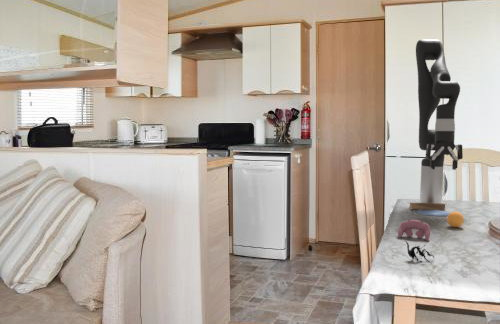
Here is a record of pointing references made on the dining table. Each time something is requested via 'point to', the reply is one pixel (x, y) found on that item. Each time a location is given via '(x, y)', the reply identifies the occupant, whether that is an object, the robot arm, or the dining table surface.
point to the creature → (412, 253)
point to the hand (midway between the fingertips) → (443, 169)
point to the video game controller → (414, 224)
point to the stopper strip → (427, 206)
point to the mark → (433, 212)
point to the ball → (455, 219)
